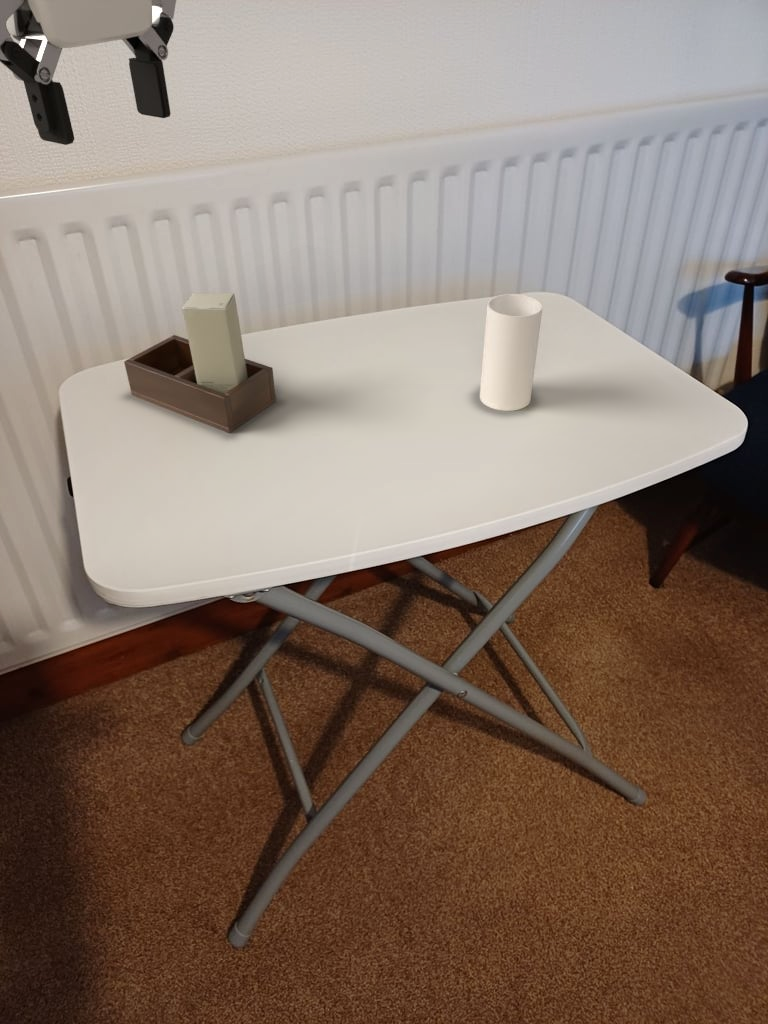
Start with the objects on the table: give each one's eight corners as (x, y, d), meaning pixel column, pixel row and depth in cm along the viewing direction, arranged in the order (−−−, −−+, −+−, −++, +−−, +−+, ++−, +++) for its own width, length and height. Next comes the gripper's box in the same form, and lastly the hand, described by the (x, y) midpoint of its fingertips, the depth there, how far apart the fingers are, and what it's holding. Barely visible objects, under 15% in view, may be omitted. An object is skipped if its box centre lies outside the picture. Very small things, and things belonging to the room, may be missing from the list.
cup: (493, 414, 93) (502, 320, 85) (471, 390, 97) (478, 298, 90) (539, 405, 94) (552, 312, 87) (516, 381, 99) (526, 290, 91)
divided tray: (229, 433, 90) (224, 398, 87) (131, 394, 96) (123, 361, 94) (276, 401, 95) (272, 367, 92) (180, 367, 102) (174, 334, 99)
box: (251, 393, 95) (238, 292, 87) (242, 412, 92) (228, 308, 84) (208, 391, 96) (192, 290, 87) (198, 410, 92) (180, 307, 84)
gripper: (112, -157, 57) (155, 102, 68) (-114, -166, 46) (-19, 146, 57) (187, -159, 54) (220, 112, 65) (-36, -170, 43) (48, 161, 54)
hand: (108, 127), depth 61 cm, fingers open, 9 cm apart
